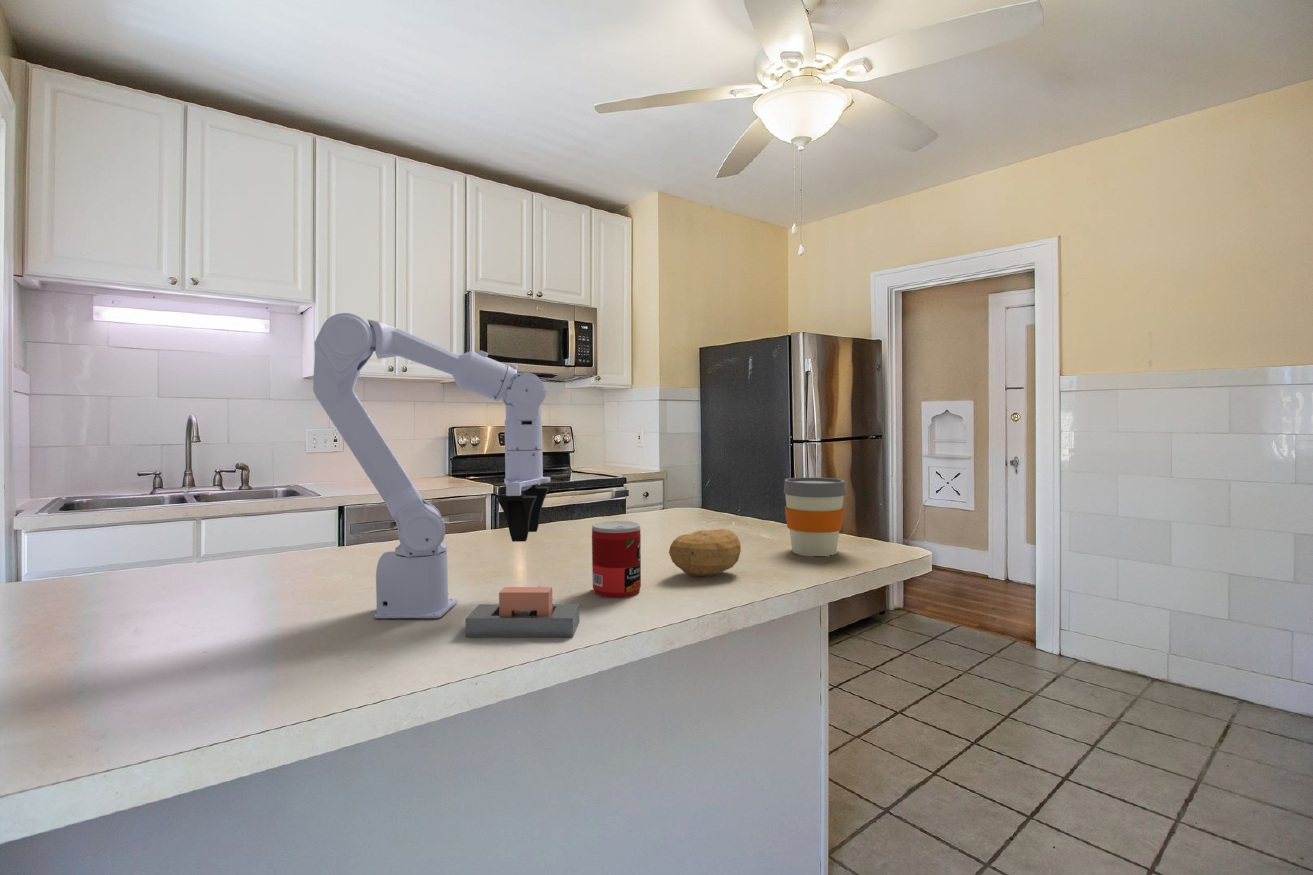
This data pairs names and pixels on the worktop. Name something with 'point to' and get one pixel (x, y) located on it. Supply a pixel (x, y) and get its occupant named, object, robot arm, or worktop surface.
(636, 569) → the canned food
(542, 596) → the clip
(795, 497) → the reusable coffee cup
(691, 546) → the potato
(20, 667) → the worktop surface
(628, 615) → the worktop surface
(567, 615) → the grey slotted block
